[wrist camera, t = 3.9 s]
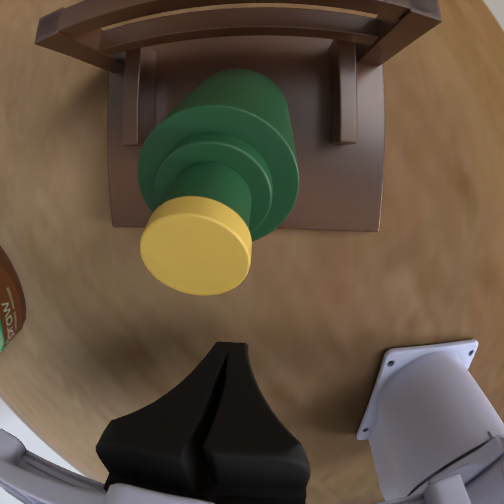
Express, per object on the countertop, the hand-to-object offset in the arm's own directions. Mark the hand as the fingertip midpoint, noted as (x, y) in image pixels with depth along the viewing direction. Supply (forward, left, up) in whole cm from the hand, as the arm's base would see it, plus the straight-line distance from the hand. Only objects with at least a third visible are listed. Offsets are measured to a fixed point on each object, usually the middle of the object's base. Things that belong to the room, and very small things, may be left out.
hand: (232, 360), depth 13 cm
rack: (+10, 0, -4) cm, 11 cm away
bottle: (+10, 0, -3) cm, 11 cm away
